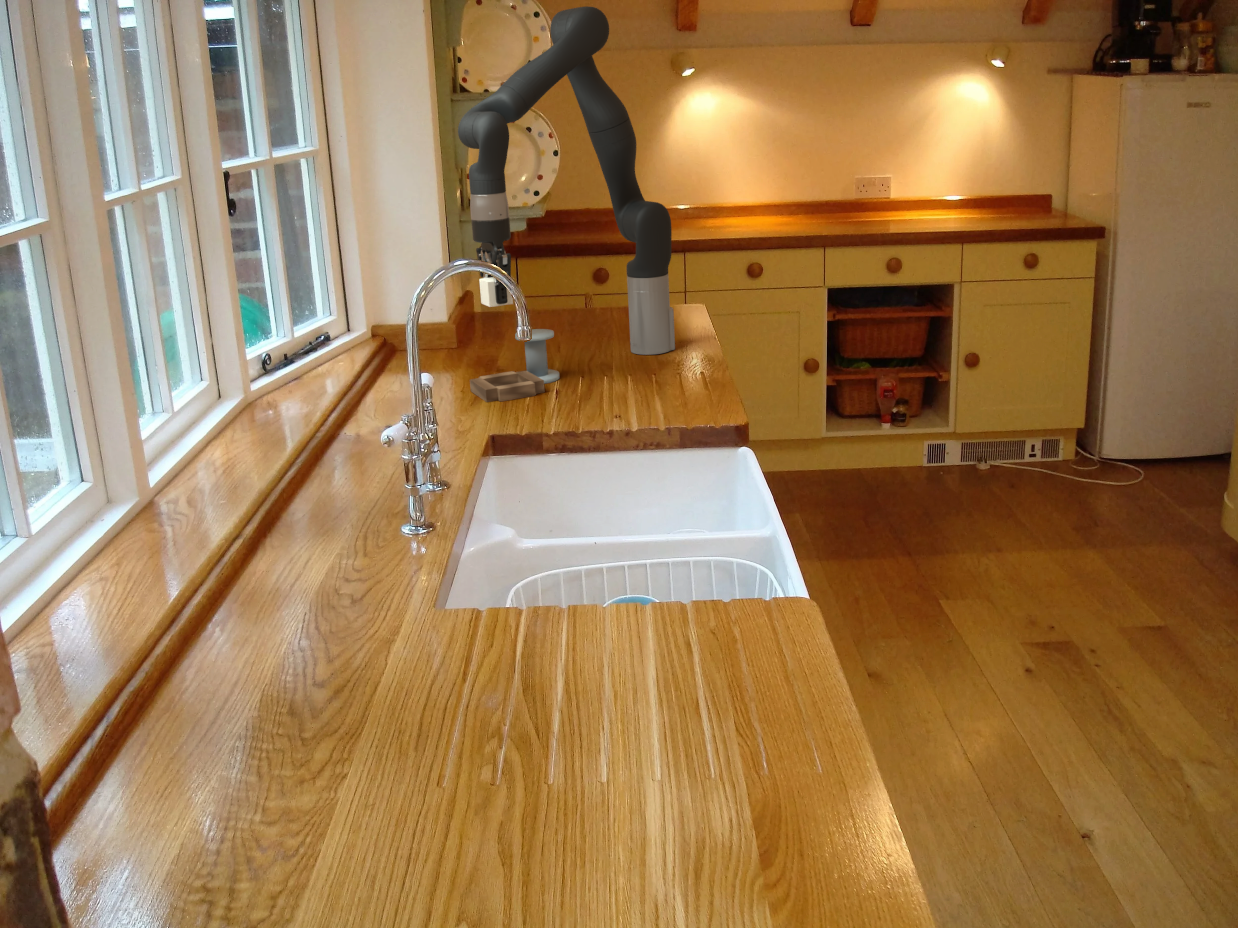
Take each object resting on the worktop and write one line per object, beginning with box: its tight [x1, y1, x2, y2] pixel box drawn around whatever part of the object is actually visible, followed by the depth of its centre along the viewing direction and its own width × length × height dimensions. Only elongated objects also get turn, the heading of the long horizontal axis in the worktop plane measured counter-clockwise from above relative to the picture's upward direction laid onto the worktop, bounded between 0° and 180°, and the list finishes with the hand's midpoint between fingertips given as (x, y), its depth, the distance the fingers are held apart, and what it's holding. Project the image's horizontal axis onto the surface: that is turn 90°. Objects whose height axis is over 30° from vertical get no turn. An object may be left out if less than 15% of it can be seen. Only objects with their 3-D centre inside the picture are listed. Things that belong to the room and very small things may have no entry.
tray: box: [469, 370, 545, 403], centre depth 246 cm, size 12×12×2 cm
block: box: [478, 277, 514, 308], centre depth 245 cm, size 5×5×5 cm
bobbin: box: [514, 328, 560, 385], centre depth 253 cm, size 9×9×10 cm
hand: (497, 301), depth 246 cm, fingers closed on block, 5 cm apart
